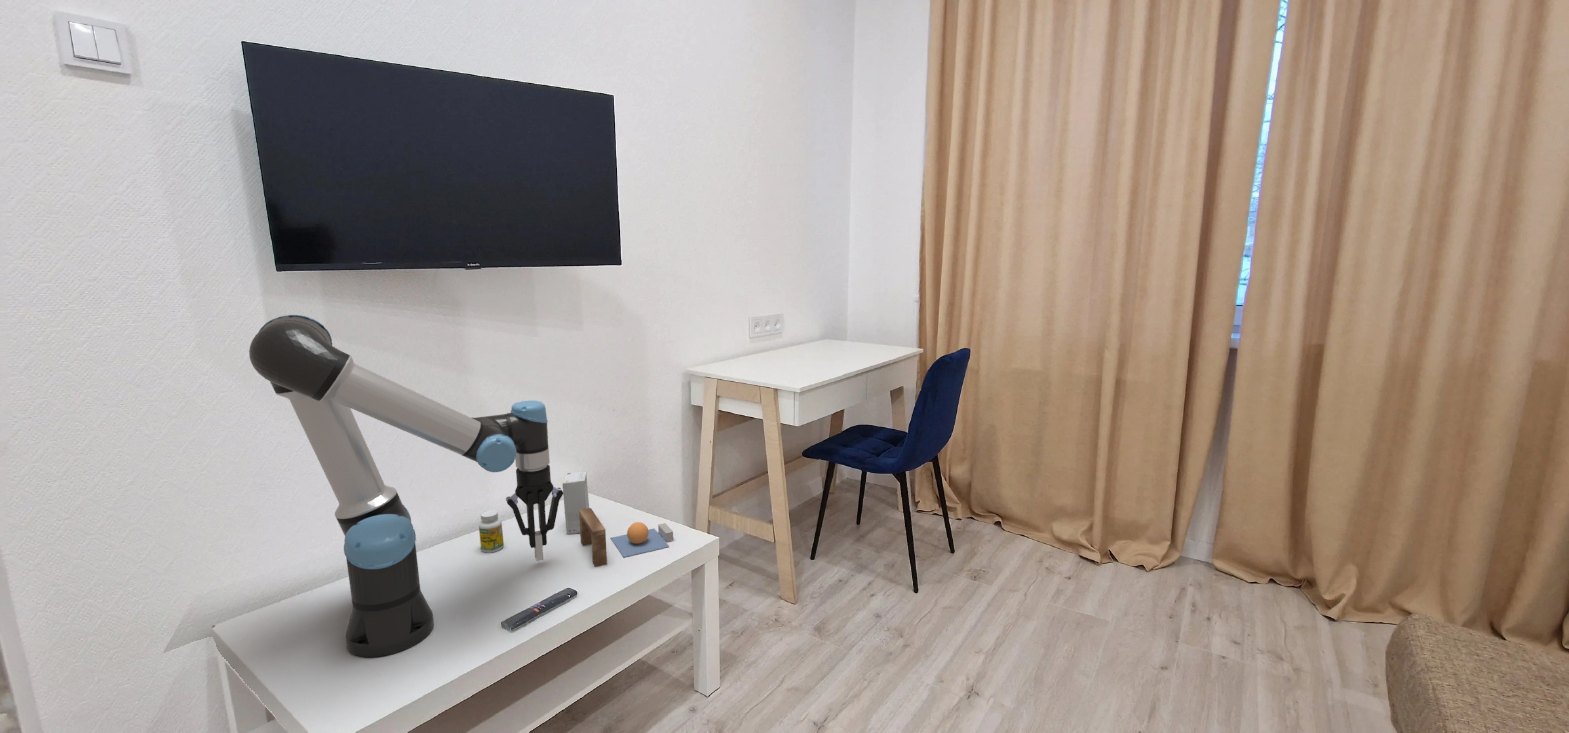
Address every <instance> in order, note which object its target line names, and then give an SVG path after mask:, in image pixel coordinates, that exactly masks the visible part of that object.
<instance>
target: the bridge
mask: <svg viewBox="0 0 1569 733" xmlns="http://www.w3.org/2000/svg"><path fill="white" fill-rule="evenodd" d="M579 519H580V533H579V535H580V544H581V545H582V546H581V547H583V546H589V545H591V554H592V555H591V558H592V565H593V567H594V568H597V567H601V566H604V565H608V556H607V538H606V536H607V533H606V528H605V527H604V524H602V522H601V521H600V519H599V517H598V516H597V515H596V513H595V511H594V510H593V509H592V508H591V507H589V508H587V509H581V510H579Z"/></svg>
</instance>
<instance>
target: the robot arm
mask: <svg viewBox="0 0 1569 733" xmlns="http://www.w3.org/2000/svg"><path fill="white" fill-rule="evenodd" d="M258 330H259V331H258V332H257V333H256V334H255V336H254V337H253V338H252V340H251V342H250V346H249V350H248V352H249V359H250V363H251V365H252V367H253V368H254V370H255V371H256V372H257V373H258V374H259V375H260V376H261V377H262V378H264V379H265V380H267V381H268V382H269V383H270V385H271V386H272V388H273V390H274V392H275V395H277V396H280V397H282V398H285V399H288V400H289V403H290V404H291V406H292V407H293V410H294V413H295V414H296V416H297V419H298V421H299V423H300V425H301V427H302V429H303V432H304V433H305V435H306V437H307V439H308V442H309V443H310V444H309V445H310V446H311V447H312V449H313V451H314V453H315V454H314V455H315V456H316V458H317V460H318V462H319V464H320V466H321V469H322V471H323V472H324V475H325V477H326V479H327V481H328V483H329V485H330V486H331V490H332V491H333V494H334V496H335V498H336V500H337V502H338V506H337V508H336V510H335V512H334V517H335V518H336V520H337V523H338V525H339V527H340V529H341V531H342V533H343V535H344V544H343V553H344V556H345V558H346V565H347V574H348V580H349V582H348V583H349V589H350V596H351V603H352V610H351V613H350V618H349V621H348V624H347V628H346V633H345V643H346V649H347V650H348V652H349V653H350V654H352V655H354V656H358V657H362V658H363V657H364V658H375V657H376V658H377V657H384V656H388V655H393V654H396V653H399V652H401V651H405V650H407V649H410V648H411V647H413V646H414V645H417V644H418V643H420V642H422V641H423V640H424V639H425V638H427V636H428V635H430V633H432V630H433V629H434V626H435V621H434V613H433V610H432V609H431V607H430V605H429V602H428V601H427V600H426V598H425V596H424V594H423V593H422V591H421V584H420V574H419V573H420V572H419V564H418V555H417V549H416V548H417V547H416V541H417V537H416V536H417V535H416V531H415V528H414V525H413V523H412V518H411V517H412V516H411V514H410V512H409V510H408V509H407V507H406V506H405V505H404V504H403V502H402V500H401V497H400V495H399V494H398V491H397V490H396V488H394V487H392V486H389V485H386V484H385V483H384V480H383V478H382V476H381V473H380V472H379V469H378V467H377V465H376V464H377V463H375V460H374V458H373V456H372V454H371V451H370V450H369V446H368V445H367V443H366V440H365V438H364V435H363V434H362V431H361V429H360V427H359V425H358V422H357V420H356V418H355V416H354V414H353V411H352V410H354V411H357V412H359V413H361V414H363V415H366V416H368V417H371V418H372V419H375V420H377V421H380V422H383V423H384V424H387V425H389V426H392V427H394V428H397V429H399V430H401V431H403V432H407V433H409V434H411V435H413V436H416V437H418V438H421V439H423V440H425V441H427V442H429V443H432V444H434V445H437V446H439V447H442V448H443V449H446V450H449V451H451V452H454V453H456V454H458V455H460V456H462V457H465V458H466V459H469V460H471V461H474V462H475V463H477V464H478V465H479V466H480V467H481V468H483V470H486V471H487V472H488V473H489V472H490V473H500V472H504V471H506V470H507V469H509V468H510V467H511V466H512V465H513V464H514V463H515V467H516V469H515V474H516V476H515V477H516V488H515V490H514V493H513V494H512V495H510V496H507V497H506V498H505V501H506V503H507V505H508V506H509V507H510V508H511V509H512V511H513V514H514V517H515V520H516V522H517V525H518V529H519V530H520V533H521V535H522V536H528V542H529V547H530V548H531V549H534V557H535V560H536V562H539V561H544V552H543V551H544V550H543V549H544V547H543V546H547V545H548V541H547V540H548V539H547V538H548V537H547V534H548V531H552V530H553V529H554V528H555V526H556V519H557V513H558V509H559V503H560V500H561V498H562V497H563V496H564V495H563V489H561V487H555V486H554V485H553V483H552V480H551V466H550V463H551V462H550V450H549V448H550V447H549V436H548V433H549V432H548V430H549V429H548V422H549V421H548V417H547V409H546V405H545V404H544V403H543V402H542V401H539V400H522V401H517V402H515V403H513V404H512V405H511V408H510V409H511V410H510V412H507V413H502V414H493V415H488V416H479V417H478V416H477V417H470V416H468V415H466V414H463V413H461V412H460V411H457V410H455V409H453V408H451V407H448V406H446V405H444V404H443V403H440V402H438V401H435V400H433V399H431V398H429V397H428V396H425V395H423V394H421V393H418V392H416V391H414V390H412V389H409V388H407V387H405V386H403V385H401V384H399V383H397V382H395V381H392V380H391V379H389V378H387V377H384V376H382V375H380V374H377V373H376V372H373V371H371V370H369V369H367V368H365V367H363V366H360V365H359V364H356V363H355V361H354V358H352V355H350V354H348V353H346V352H343V351H342V350H340V349H338V348H337V347H335V346H333V339H332V336H331V333H330V332H329V331H328V329H327V328H326V327H325V325H324V324H322V323H321V322H319V321H318V320H316V319H315V318H312V317H309V316H305V315H302V314H288V315H281V316H277V317H275V318H272V319H271V320H269V321H266V323H264V325H263V326H261V328H259V329H258ZM550 495H552V496H551V502H550V507H549V512H548V517H547V519H546V501H547V499H548V498H549V497H550ZM518 499H520V500H521V501H522V502H523V503H524V504H525V505H526V506H525V507H526V517H527V527H526V525H525V523H524V520H523V518H522V514H521V512H520V509H519V506H518V503H519V500H518ZM534 505H537V510H538V526H539V527H538V528H539V530H537V531H536V526H535V512H534V511H535V510H534V509H535V507H534ZM546 520H547V521H546Z"/></svg>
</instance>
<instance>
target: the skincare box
mask: <svg viewBox="0 0 1569 733" xmlns="http://www.w3.org/2000/svg"><path fill="white" fill-rule="evenodd" d="M587 475H588V474H587V471H578V472H577V471H575V472H566V473H565V476H564V477H563V481H562V491H563V495H562V496H563V506H564V516H565V518H564V519H565V532H566V535H570V534H580V519H579V510H581V509H587V508H590V502H589V489H588V476H587Z"/></svg>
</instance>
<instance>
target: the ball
mask: <svg viewBox="0 0 1569 733" xmlns="http://www.w3.org/2000/svg"><path fill="white" fill-rule="evenodd" d="M648 530H649V528H648V526H647V525H646V524H645V523H643V522H641V521H640V522H639V521H636V522H634V523H631V524H630V526H629V527H628V528H627V532H626V534H627V537H628V539H629V540H630V541H631V542H632V543H634V544H640V543H643V542H644V541H645V540H646V539H647V537H648V534H649V531H648Z"/></svg>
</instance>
